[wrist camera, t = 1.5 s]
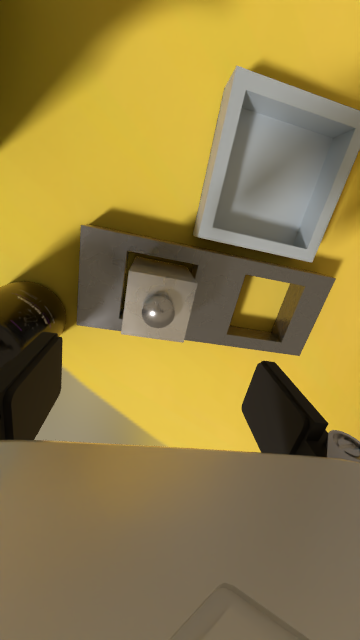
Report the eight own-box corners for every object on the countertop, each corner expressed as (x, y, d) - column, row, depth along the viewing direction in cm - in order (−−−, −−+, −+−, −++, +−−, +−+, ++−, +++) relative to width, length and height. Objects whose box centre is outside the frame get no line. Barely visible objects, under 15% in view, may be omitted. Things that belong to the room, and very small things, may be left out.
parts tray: (224, 88, 18) (236, 65, 15) (343, 129, 20) (373, 115, 17) (192, 235, 22) (198, 237, 19) (294, 257, 24) (312, 262, 21)
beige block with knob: (136, 256, 23) (127, 273, 15) (185, 265, 23) (199, 286, 16) (129, 303, 24) (119, 338, 17) (176, 311, 25) (184, 347, 18)
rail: (84, 315, 24) (76, 324, 22) (88, 224, 21) (81, 224, 19) (287, 344, 28) (299, 355, 26) (319, 273, 25) (335, 278, 23)
